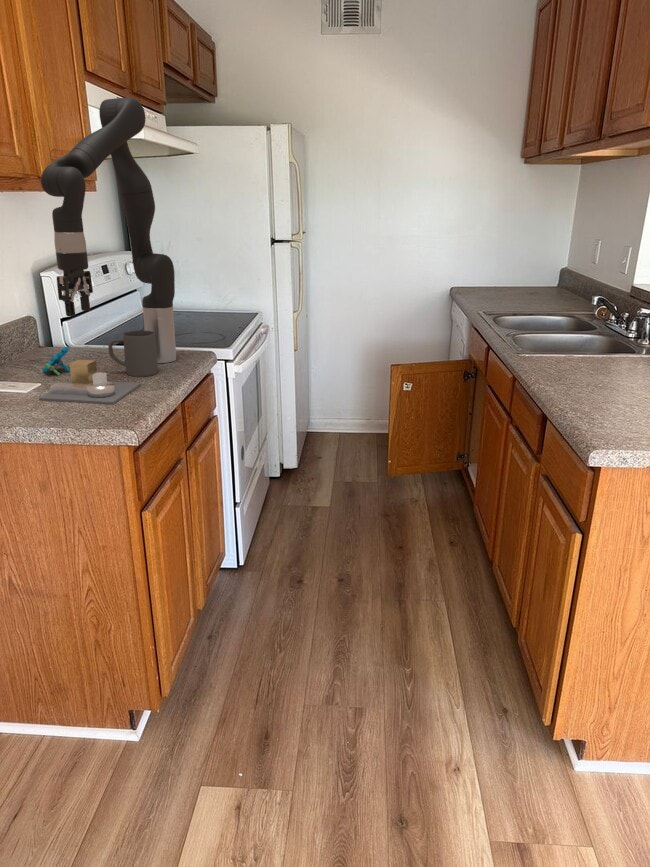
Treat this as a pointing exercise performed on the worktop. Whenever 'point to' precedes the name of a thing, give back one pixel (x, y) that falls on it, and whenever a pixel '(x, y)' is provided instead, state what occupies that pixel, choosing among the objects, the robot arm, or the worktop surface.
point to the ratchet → (87, 387)
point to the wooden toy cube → (83, 371)
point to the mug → (138, 353)
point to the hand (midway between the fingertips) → (78, 313)
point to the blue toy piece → (57, 362)
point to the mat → (120, 392)
